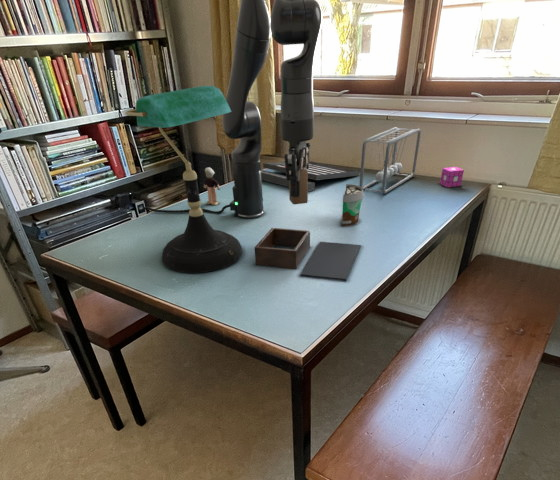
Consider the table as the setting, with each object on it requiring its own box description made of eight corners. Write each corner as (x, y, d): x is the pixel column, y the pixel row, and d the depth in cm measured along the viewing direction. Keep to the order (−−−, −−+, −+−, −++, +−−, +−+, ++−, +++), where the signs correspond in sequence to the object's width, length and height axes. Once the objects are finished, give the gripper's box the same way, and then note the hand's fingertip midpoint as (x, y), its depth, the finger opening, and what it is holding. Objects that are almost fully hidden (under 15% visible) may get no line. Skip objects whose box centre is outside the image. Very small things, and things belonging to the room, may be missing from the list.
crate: (255, 264, 115) (254, 247, 112) (272, 244, 126) (271, 227, 123) (296, 268, 112) (295, 251, 109) (310, 247, 123) (310, 230, 120)
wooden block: (289, 200, 109) (288, 167, 104) (303, 198, 110) (303, 165, 105) (292, 205, 106) (292, 171, 101) (308, 203, 107) (308, 169, 102)
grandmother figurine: (202, 204, 158) (196, 168, 150) (207, 201, 160) (202, 165, 152) (220, 206, 155) (215, 169, 147) (225, 203, 158) (220, 166, 150)
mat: (300, 275, 109) (300, 274, 109) (320, 243, 125) (320, 241, 125) (346, 280, 106) (346, 279, 105) (360, 246, 122) (360, 245, 122)
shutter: (304, 176, 201) (254, 181, 183) (305, 160, 198) (254, 163, 179) (357, 185, 182) (307, 191, 163) (359, 167, 178) (308, 171, 160)
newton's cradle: (391, 173, 181) (397, 125, 169) (414, 176, 176) (422, 127, 165) (358, 191, 162) (362, 140, 151) (383, 195, 157) (389, 142, 146)
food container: (360, 228, 133) (363, 195, 126) (341, 227, 134) (343, 195, 128) (362, 215, 142) (365, 183, 136) (344, 214, 143) (346, 183, 137)
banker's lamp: (203, 283, 108) (172, 98, 83) (141, 265, 118) (95, 96, 93) (261, 246, 125) (249, 84, 100) (202, 233, 135) (178, 83, 110)
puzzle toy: (447, 187, 162) (450, 171, 158) (439, 183, 166) (442, 168, 162) (460, 185, 163) (464, 170, 159) (452, 182, 167) (455, 166, 163)
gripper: (290, 111, 102) (292, 184, 113) (271, 121, 92) (275, 201, 103) (320, 111, 100) (319, 185, 111) (304, 121, 90) (305, 203, 101)
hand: (298, 192), depth 107 cm, fingers closed on wooden block, 5 cm apart
